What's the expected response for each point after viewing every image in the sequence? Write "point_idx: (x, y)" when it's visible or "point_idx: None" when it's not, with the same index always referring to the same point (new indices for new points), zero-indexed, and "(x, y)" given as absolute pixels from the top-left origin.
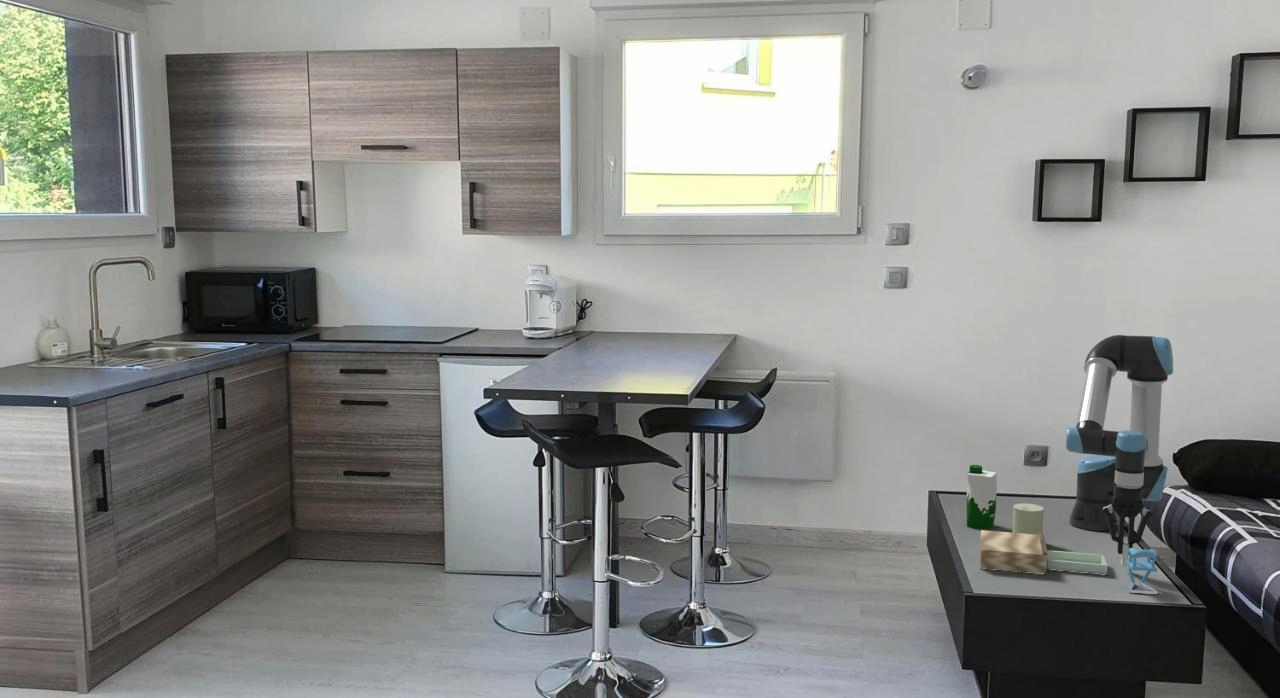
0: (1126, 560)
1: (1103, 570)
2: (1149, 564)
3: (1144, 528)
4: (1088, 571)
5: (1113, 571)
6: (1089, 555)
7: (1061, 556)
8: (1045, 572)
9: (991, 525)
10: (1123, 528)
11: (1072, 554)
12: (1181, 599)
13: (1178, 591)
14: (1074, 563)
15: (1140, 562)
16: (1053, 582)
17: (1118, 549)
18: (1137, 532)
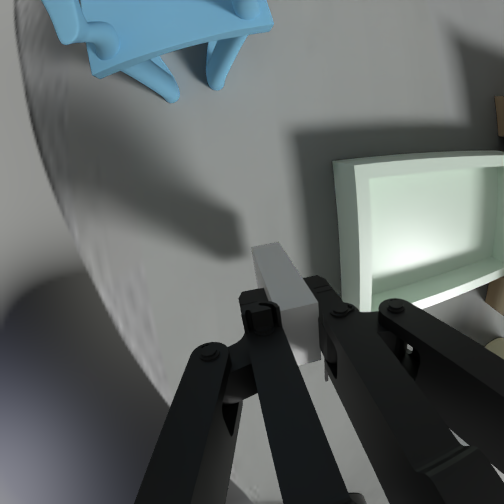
0: (272, 23)
1: (357, 161)
2: (109, 7)
3: (149, 464)
4: (405, 155)
5: (305, 241)
6: (408, 300)
7: (473, 269)
8: (502, 96)
9: None
10: (381, 401)
11: (455, 283)
12: (34, 16)
13: (32, 100)
14: (466, 155)
15: (169, 15)
16: (470, 30)
17: (329, 288)
18: (224, 431)
